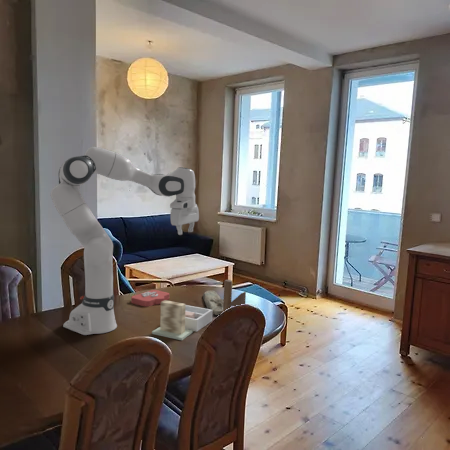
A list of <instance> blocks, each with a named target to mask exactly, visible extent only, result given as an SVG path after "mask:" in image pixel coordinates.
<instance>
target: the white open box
mask: <svg viewBox="0 0 450 450" xmlns="http://www.w3.org/2000/svg"><path fill="white" fill-rule="evenodd" d="M185 311H186V312H193V313H195V319H193V318H188V317H185V329H188V330H193V332H198V331H200V330H202V328H204V327H205V326H207V325H208V324H209V323H211V322H212V321H213V315H214V314H213V310H211V309H208V308H206V307H205V308H204V307H199V306H193V305H188V304H186V306H185Z"/></svg>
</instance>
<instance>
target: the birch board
mask: <svg viewBox="0 0 450 450" xmlns="http://www.w3.org/2000/svg"><path fill="white" fill-rule="evenodd" d="M186 305H187V304H186V303H183V302H176V301H171V300H164V301H162V302H161V304H160V321H159V323H160V324H159V325H160V326H159V327H160V330H163V331H167V332H172V333H177V334H183V333H184V332H185V306H186Z"/></svg>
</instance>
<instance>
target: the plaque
mask: <svg viewBox="0 0 450 450" xmlns="http://www.w3.org/2000/svg"><path fill="white" fill-rule="evenodd" d="M164 300H167V301H169V300H170V292H166V291H162V290H158V289H150V290H148V291H144V292H141V293H139V294H135V295H132V296H131V298H130V301H131V302H130V303H131V304H134V305H138V306H141V307H146V308H147V307H151V306H155V305H161V302H162V301H164Z"/></svg>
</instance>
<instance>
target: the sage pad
mask: <svg viewBox="0 0 450 450" xmlns="http://www.w3.org/2000/svg"><path fill="white" fill-rule="evenodd" d="M193 332H194V331H193V330H188V329H185V332H184V333H183V334H177V333H172V332H167V331H163V330H160V326H159V327H157V328H156V329H154V330H152V331H151V334H152V335H156V336H161V337H165V338H170V339H174V340H179V341H183V340H185V339H186V338H187V337H188V336H190V335H192V334H193Z"/></svg>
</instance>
